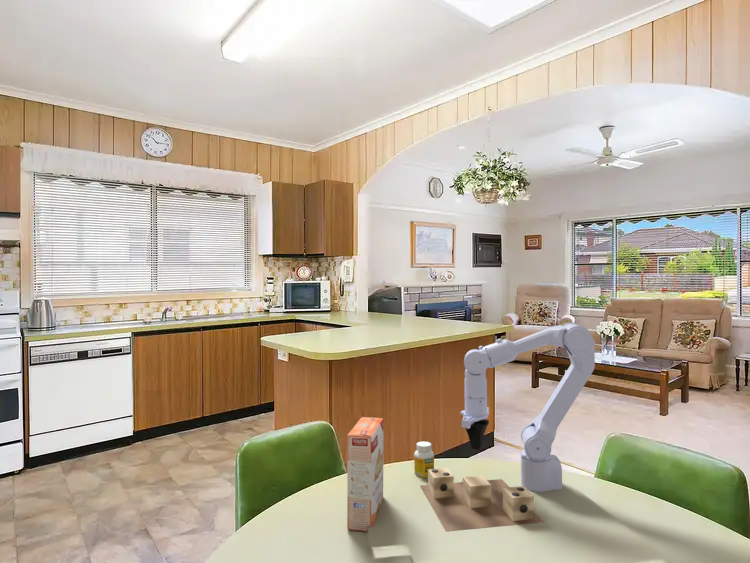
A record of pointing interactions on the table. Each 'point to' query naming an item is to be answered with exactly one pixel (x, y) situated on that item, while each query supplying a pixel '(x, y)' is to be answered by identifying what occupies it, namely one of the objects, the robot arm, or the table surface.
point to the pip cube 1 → (440, 483)
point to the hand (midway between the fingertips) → (476, 448)
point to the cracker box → (364, 473)
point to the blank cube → (477, 492)
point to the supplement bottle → (423, 459)
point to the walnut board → (473, 509)
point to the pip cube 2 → (518, 503)
